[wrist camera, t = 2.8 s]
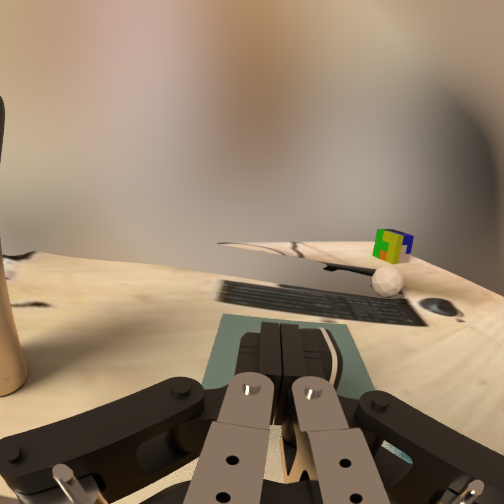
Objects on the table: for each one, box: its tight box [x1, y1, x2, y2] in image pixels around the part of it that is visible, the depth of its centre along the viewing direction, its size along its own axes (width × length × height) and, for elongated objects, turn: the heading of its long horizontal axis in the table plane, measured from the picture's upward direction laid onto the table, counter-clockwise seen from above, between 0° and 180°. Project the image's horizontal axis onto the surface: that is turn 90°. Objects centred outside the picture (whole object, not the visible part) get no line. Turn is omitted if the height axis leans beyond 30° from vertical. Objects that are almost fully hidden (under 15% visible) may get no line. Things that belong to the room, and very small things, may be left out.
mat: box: [202, 314, 375, 400], centre depth 43 cm, size 22×20×1 cm
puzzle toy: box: [373, 229, 414, 264], centre depth 102 cm, size 10×10×10 cm
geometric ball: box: [372, 264, 403, 298], centre depth 67 cm, size 8×8×8 cm
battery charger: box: [299, 328, 343, 392], centre depth 27 cm, size 7×4×11 cm, turn 2°
